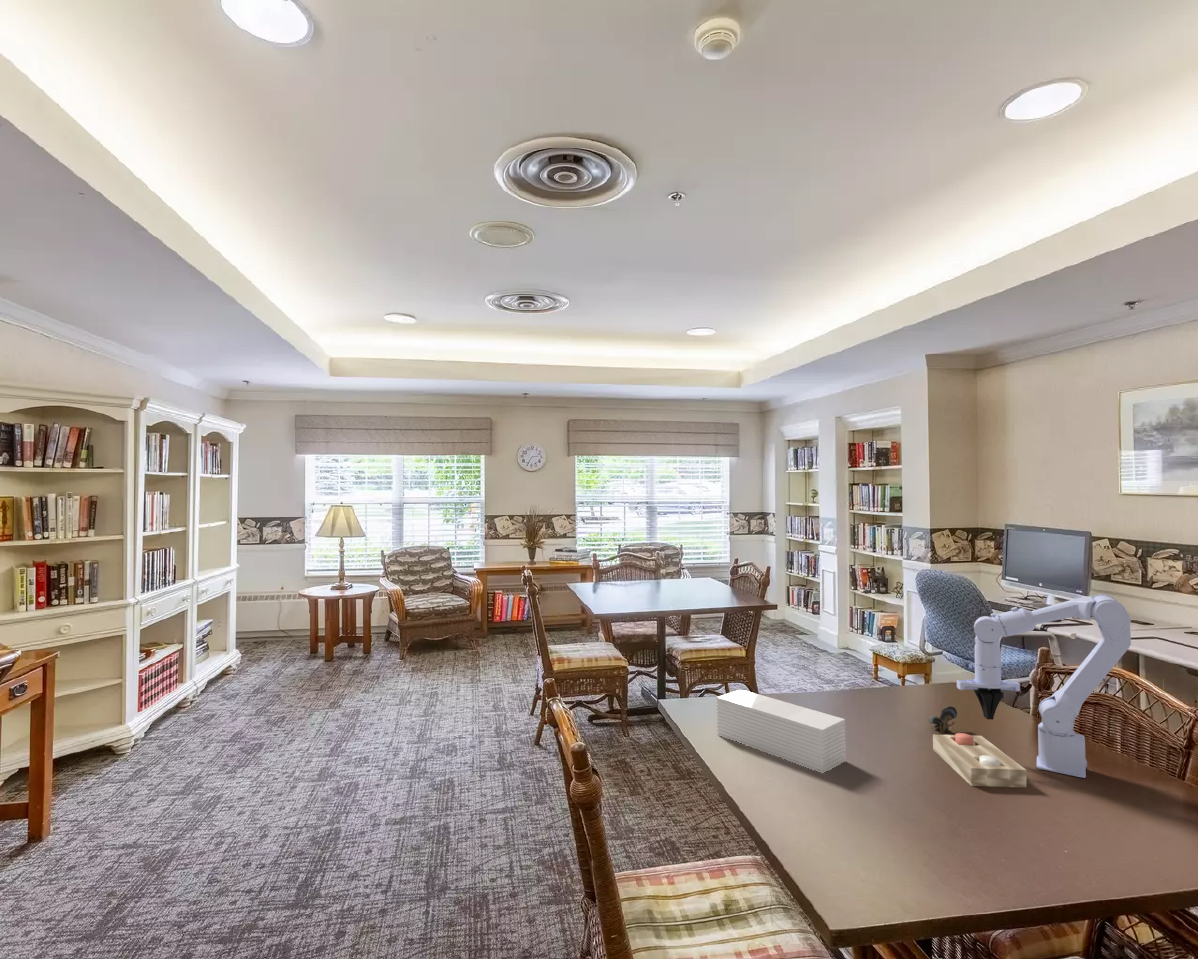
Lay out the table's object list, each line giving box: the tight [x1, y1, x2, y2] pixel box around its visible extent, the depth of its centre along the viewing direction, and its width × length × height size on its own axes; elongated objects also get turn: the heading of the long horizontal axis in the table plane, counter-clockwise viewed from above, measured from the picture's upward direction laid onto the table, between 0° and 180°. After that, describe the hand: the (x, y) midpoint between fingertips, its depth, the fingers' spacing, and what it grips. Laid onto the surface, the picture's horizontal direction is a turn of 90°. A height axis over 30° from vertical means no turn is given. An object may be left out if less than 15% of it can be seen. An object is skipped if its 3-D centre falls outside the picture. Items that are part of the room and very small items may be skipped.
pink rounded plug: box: [954, 732, 974, 745], centre depth 161 cm, size 4×4×4 cm
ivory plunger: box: [979, 755, 999, 766], centre depth 149 cm, size 4×4×4 cm
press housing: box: [932, 734, 1027, 789], centre depth 155 cm, size 12×20×4 cm, turn 175°
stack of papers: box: [716, 688, 847, 774], centre depth 167 cm, size 32×11×11 cm, turn 41°
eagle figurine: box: [927, 706, 958, 735], centre depth 178 cm, size 8×7×9 cm
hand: (988, 718), depth 162 cm, fingers closed
